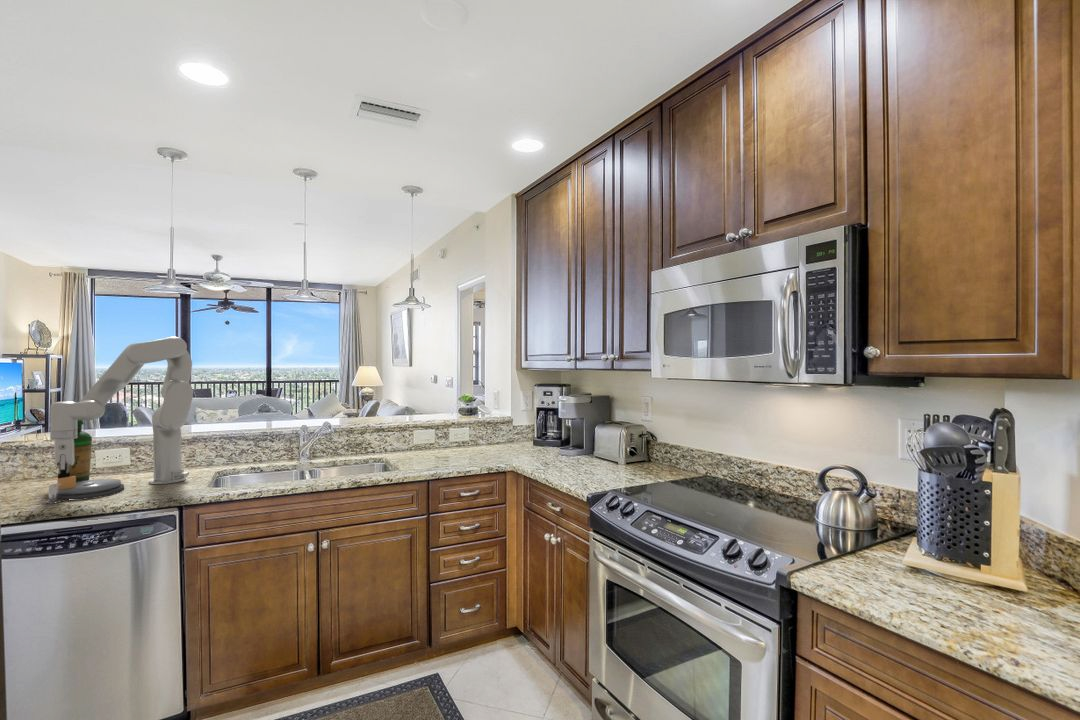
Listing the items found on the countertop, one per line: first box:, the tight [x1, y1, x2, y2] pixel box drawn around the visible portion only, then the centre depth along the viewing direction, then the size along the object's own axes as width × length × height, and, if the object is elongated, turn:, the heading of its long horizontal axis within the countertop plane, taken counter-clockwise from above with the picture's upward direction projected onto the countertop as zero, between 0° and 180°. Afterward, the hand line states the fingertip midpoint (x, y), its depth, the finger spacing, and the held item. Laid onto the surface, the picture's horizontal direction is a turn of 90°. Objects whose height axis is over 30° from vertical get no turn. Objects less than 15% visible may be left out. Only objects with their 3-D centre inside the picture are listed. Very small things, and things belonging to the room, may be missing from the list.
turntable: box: [56, 476, 122, 495], centre depth 198 cm, size 19×19×6 cm
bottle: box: [69, 420, 93, 482], centre depth 211 cm, size 11×11×28 cm
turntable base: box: [58, 483, 125, 500], centre depth 198 cm, size 21×21×2 cm
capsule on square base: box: [42, 483, 64, 503], centre depth 186 cm, size 5×4×6 cm
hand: (63, 484), depth 194 cm, fingers closed
